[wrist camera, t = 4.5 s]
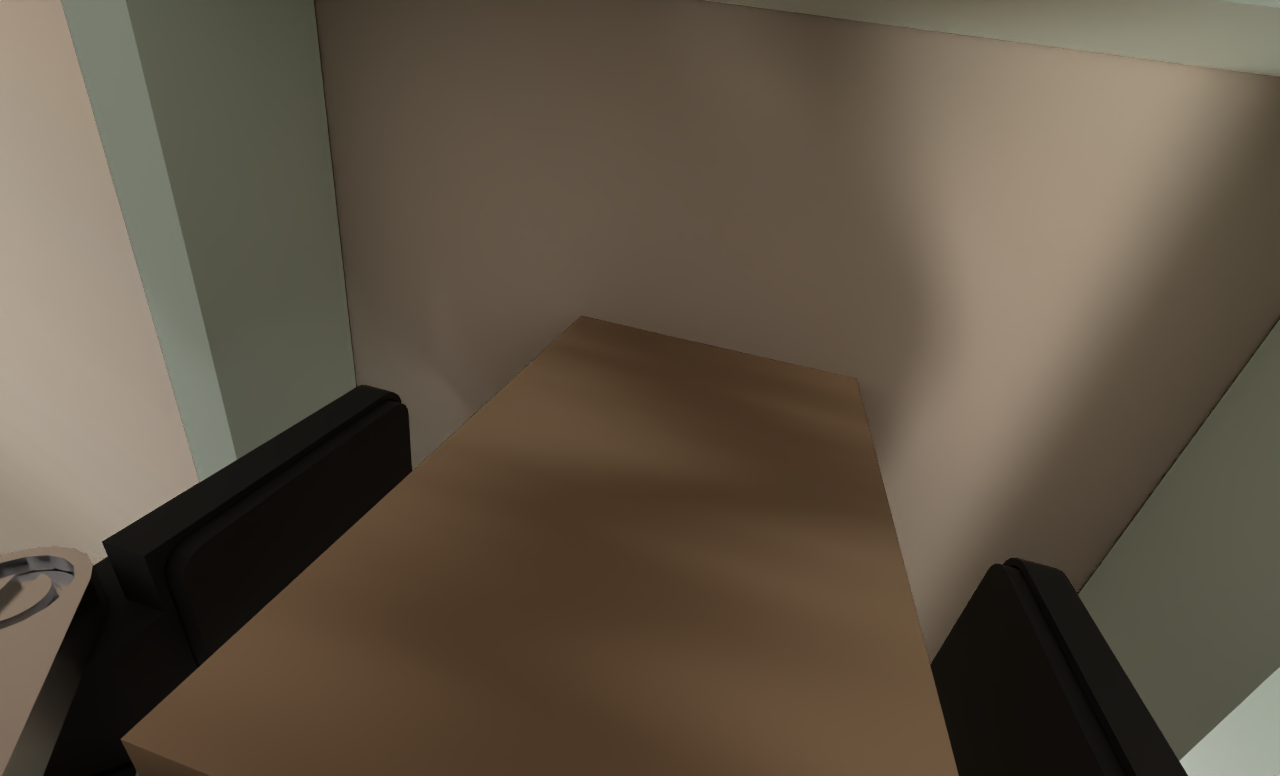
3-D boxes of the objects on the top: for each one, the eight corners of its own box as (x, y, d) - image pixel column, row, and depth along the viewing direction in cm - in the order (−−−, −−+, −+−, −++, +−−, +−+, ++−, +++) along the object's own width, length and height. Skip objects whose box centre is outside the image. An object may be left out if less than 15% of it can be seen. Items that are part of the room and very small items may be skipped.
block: (856, 378, 9) (1044, 1113, 2) (780, 585, 12) (765, 1268, 5) (581, 315, 10) (120, 738, 3) (561, 521, 12) (267, 1029, 5)
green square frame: (1634, 5, 6) (2356, -95, 3) (958, 828, 14) (999, 997, 11) (241, -143, 8) (-16, -268, 6) (352, 622, 16) (267, 719, 13)
